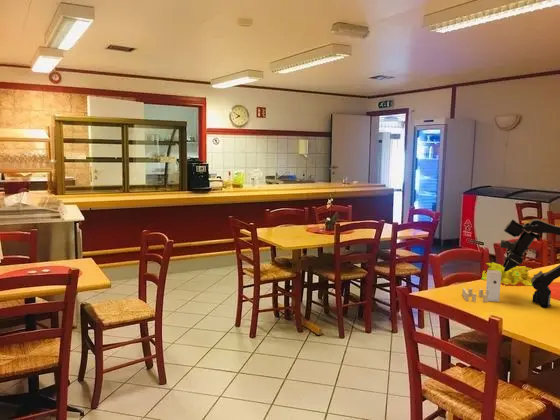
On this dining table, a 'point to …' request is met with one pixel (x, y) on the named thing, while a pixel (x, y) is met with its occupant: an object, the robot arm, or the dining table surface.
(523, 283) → the decorative piece
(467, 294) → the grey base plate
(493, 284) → the pillar on grey plate
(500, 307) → the dining table surface
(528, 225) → the robot arm
